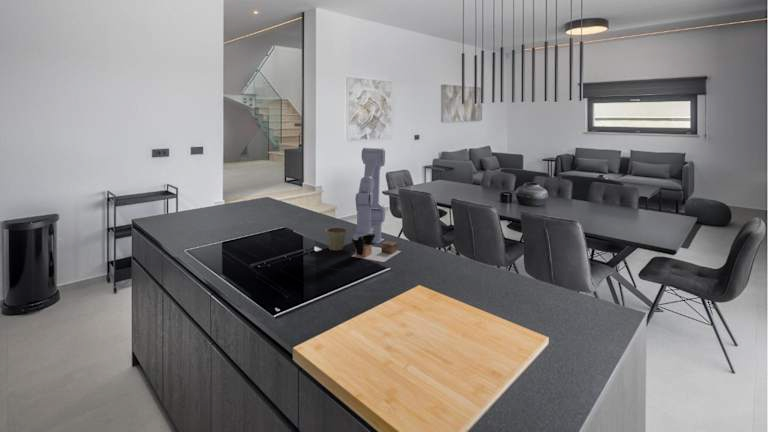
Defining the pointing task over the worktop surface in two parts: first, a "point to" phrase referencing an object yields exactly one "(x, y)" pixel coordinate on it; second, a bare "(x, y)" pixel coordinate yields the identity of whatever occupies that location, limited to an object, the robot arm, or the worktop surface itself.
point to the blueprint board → (378, 255)
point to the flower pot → (336, 238)
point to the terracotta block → (365, 251)
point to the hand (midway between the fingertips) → (363, 252)
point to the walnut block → (389, 247)
